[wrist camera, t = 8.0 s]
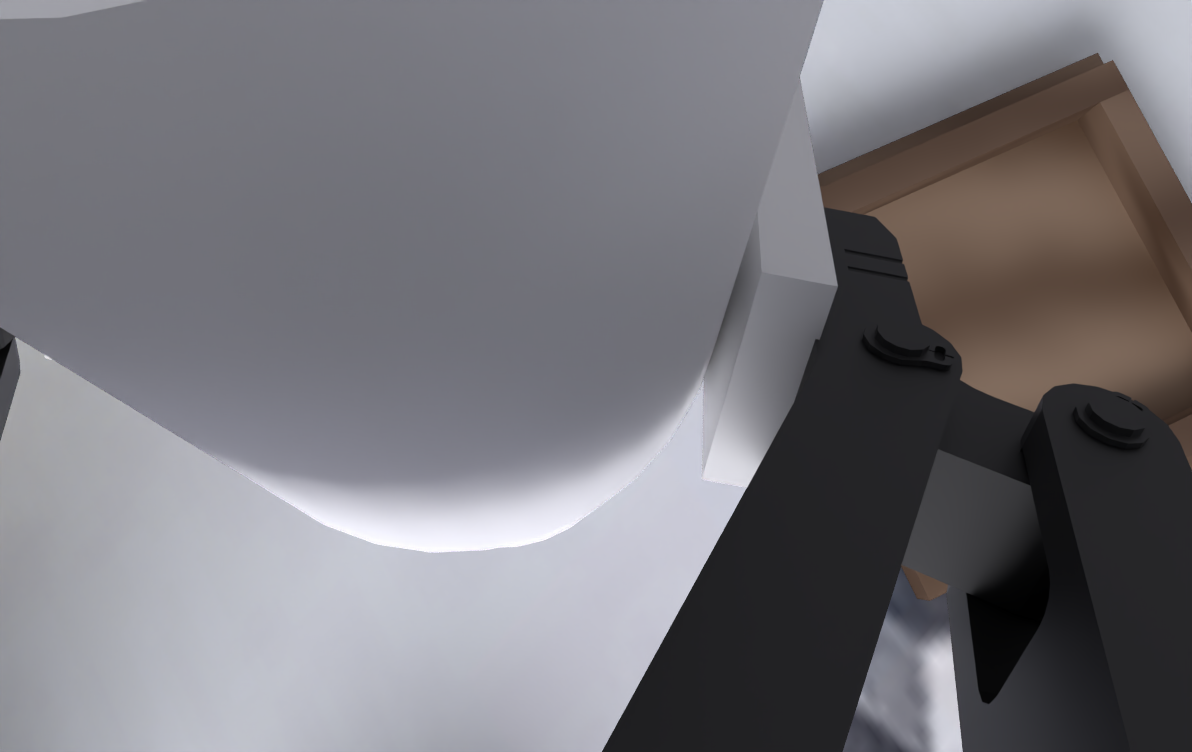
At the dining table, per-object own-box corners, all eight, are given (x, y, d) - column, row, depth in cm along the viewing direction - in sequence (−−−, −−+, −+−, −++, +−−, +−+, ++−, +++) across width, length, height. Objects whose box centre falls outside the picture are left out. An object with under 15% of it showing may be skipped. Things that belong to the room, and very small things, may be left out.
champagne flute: (642, 286, 27) (1401, -1829, 3) (630, 556, 26) (1676, 692, 2) (375, 270, 26) (-1167, -2156, 3) (351, 541, 25) (-2599, 488, 2)
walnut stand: (1274, 422, 38) (1331, 413, 36) (917, 598, 37) (947, 603, 34) (1081, 67, 40) (1121, 32, 37) (731, 219, 39) (746, 194, 36)
